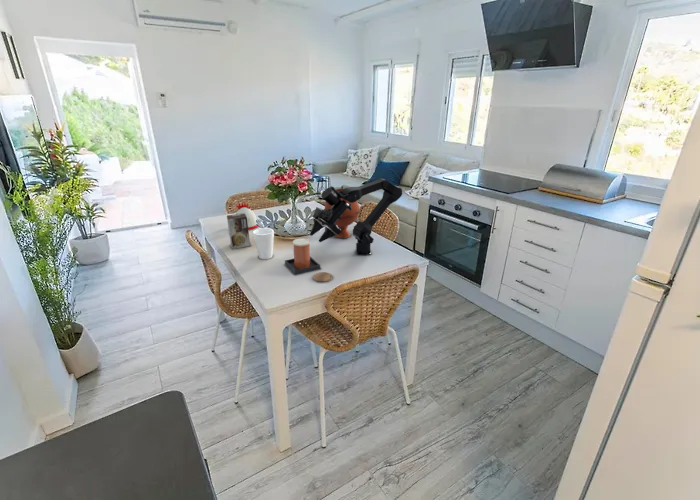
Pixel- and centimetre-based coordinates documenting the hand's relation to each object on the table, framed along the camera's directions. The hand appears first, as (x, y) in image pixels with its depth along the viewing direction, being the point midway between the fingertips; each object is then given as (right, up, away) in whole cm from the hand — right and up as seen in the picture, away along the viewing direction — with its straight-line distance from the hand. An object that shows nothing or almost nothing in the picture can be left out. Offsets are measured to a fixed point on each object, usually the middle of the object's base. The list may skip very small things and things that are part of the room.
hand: (314, 238), depth 157 cm
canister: (-6, -12, +2) cm, 14 cm away
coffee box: (-41, -3, +23) cm, 47 cm away
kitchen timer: (-46, +9, +50) cm, 68 cm away
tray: (-6, -13, +2) cm, 14 cm away
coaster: (+4, -17, -8) cm, 19 cm away
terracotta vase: (+11, +3, +39) cm, 40 cm away
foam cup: (-25, -9, +11) cm, 29 cm away
